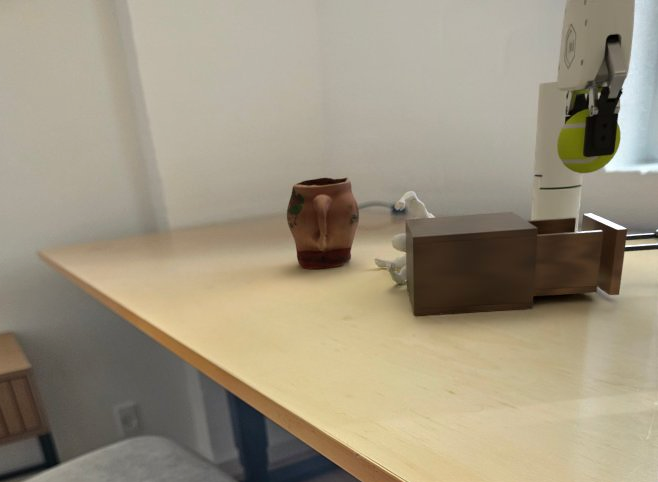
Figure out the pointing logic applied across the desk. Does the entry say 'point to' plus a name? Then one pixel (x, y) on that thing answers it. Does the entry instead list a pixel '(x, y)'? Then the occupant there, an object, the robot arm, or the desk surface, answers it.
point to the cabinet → (470, 263)
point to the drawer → (582, 255)
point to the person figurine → (403, 238)
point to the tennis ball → (580, 146)
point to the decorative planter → (323, 221)
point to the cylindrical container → (553, 161)
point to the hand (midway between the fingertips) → (587, 152)
